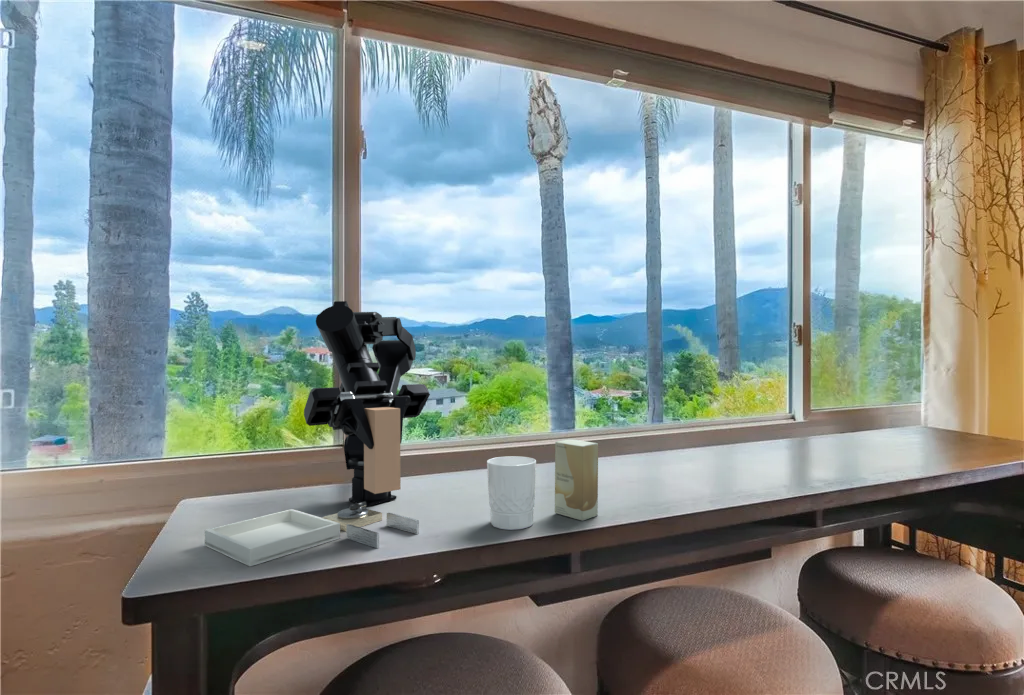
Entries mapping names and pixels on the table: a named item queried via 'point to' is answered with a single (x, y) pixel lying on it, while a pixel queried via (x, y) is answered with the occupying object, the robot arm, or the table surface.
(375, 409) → the tan rectangular block
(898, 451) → the table surface
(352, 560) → the table surface
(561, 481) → the skincare box
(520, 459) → the white cup
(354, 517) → the bracket
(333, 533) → the tray
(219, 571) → the table surface
